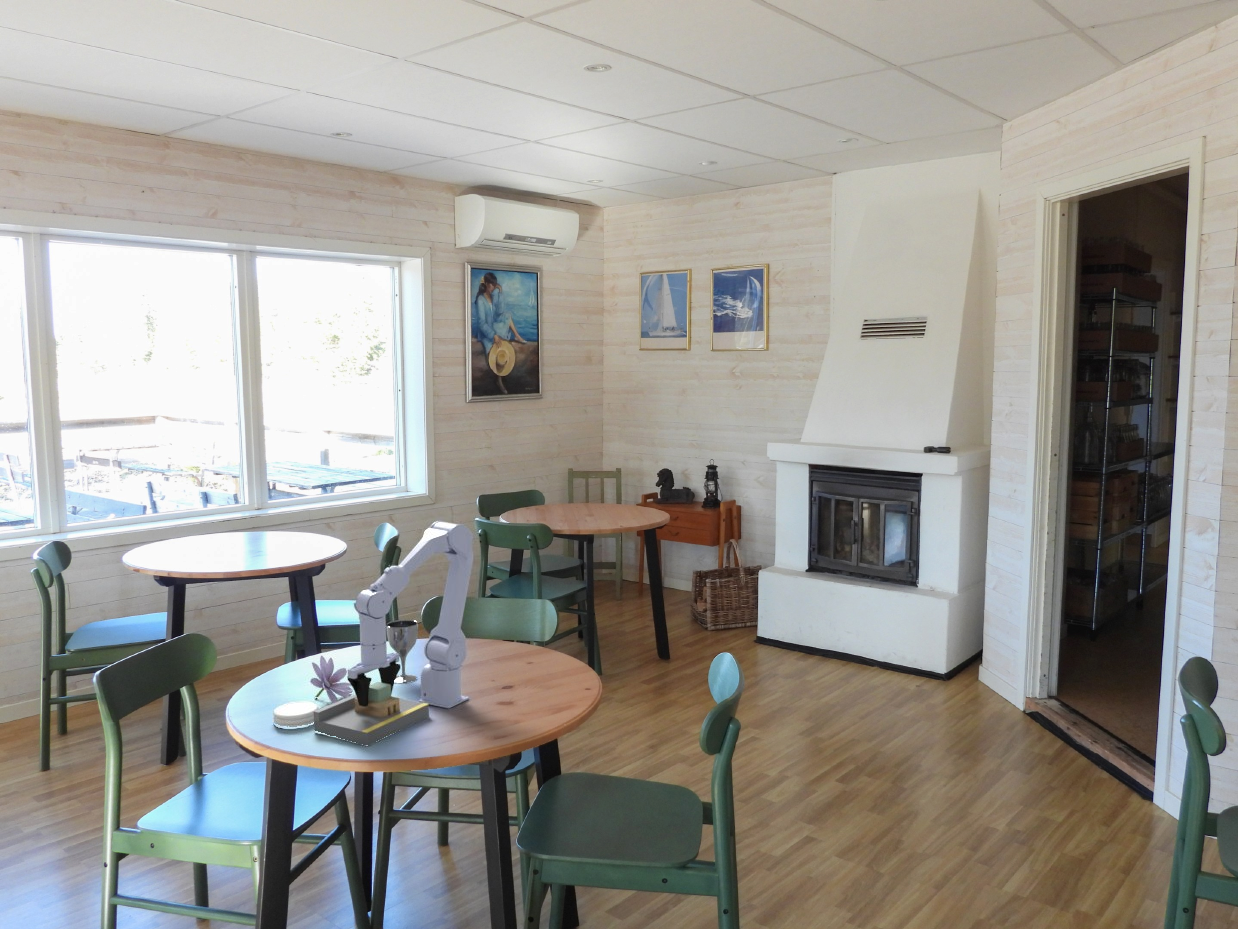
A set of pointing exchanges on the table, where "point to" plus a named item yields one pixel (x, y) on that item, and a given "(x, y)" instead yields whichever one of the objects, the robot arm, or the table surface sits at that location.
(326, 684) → the water lily
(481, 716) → the table surface
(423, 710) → the dock
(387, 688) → the green block
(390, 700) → the pallet
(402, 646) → the silver goblet
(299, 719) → the white round disc
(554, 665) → the table surface
